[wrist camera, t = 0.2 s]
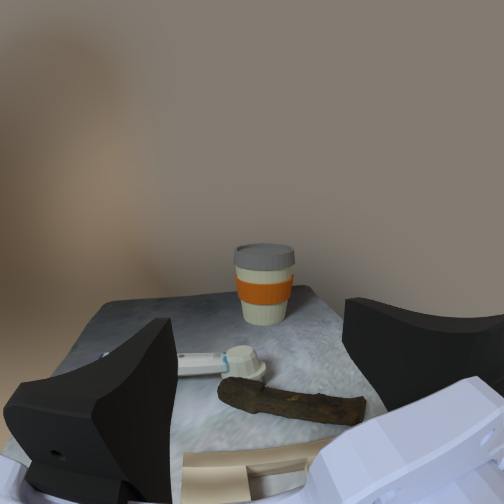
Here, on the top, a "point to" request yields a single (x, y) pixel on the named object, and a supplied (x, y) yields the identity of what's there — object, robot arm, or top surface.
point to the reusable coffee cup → (264, 281)
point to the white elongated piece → (222, 364)
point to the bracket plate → (240, 471)
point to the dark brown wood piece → (290, 402)
